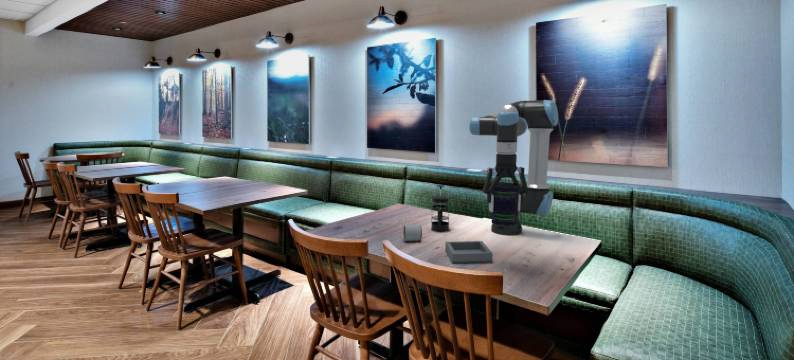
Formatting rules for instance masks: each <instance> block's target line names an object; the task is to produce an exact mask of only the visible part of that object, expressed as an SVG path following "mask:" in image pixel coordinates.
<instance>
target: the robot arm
mask: <svg viewBox="0 0 794 360" xmlns="http://www.w3.org/2000/svg"><path fill="white" fill-rule="evenodd" d="M558 111H559V110H558V107H557V104H556V102H555V101H554V100H549V99H547V100H546V99H544V100H543V99H542V100H541V99H540V100H538V99H537V100H535V99H534V100H519V101H515V102H511V103H509V104H506V105H504V106H502V107H501V108H500V109H499V110H496V111H495V112H492V113H489V114H487V115H484V116H474V117H472V118H471V119H470V121H469V132H470V133H471V135H473V136H479V137H481V136H494V137H495V136H496V151H495V152H496V155H495V166H494V167H487V174H486V178H485V181H484V185H483V187H482V193H484V194H485V195H486V202H487V204H488V209H489V210H488V211H489V212H491V213H492V212H493V201H494V195H492V193H493V191H494V189H495V188H494V186H497V184H498V183H500V181H501V180H502V179H507V178H508V179H511V181H512V183H514V185H519V187H518V192H519V194H518V200H517V210H518V212H517V214H518V217H517V224H516V225H514V226H500V225H495V224H493V223H492V222H491V226H490V227H491V229H490V230H491V232H492V233H495V234H498V235H504V236H514V235H515V236H516V235H520V234H522V233H523V226H522V223H521V220H520V214H522V213H523V214H530V215H536V216H538V215H539V216H546V215H548V214H549V212H550V210H551V207H552V204H553V201H554V200H553V198H554V192H553V191H551V189H550V186H549V185H548V184H547V182H548V165H549V149H550V134H551V132H553V131H554V127H555V126H557V125H558V123H559V112H558ZM527 130H528V131H529V132H530V133H529V134H530V135H529V136H530V138H529V139H530V140H529V152H528V153H529V154H528V158H529V159H528V169H527V170H528V173H527V180H526V176H525V171H526V170H525V167H524V166H517V162H518V161H517V159H518V158H517V157H518V155H517V154H516V153H517V152H518V151H517V149H518V137H520V136H522V135H523V134H525V133H526V132H527ZM495 172H496V175H495V177H494V179H493V174H494V173H495ZM516 172H517V173H518V176H519V179H520V183H519V181H518V179H517V176H516V175H515V173H516ZM492 179H493V180H492ZM491 181H492V183H491Z"/></svg>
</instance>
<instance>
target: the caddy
mask: <svg viewBox="0 0 794 360" xmlns="http://www.w3.org/2000/svg"><path fill="white" fill-rule="evenodd" d="M444 250H445V252H446V255H447V256H448V258H449V260H450V261H451V264H485V263H487V264H488V263H489V264H490V263H493V251H491V250H490V248H489V247H488V246H487V245H486V244H485V243H484V241H483V240H464V241H463V240H462V241H460V240H459V241H445V249H444Z"/></svg>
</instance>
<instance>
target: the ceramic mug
mask: <svg viewBox="0 0 794 360" xmlns="http://www.w3.org/2000/svg"><path fill="white" fill-rule="evenodd" d="M402 230H403V231H402V232H403V241H404V242H418V241H422V240H423V239H422V238H423V229H422V226H421V225H418V224H417V225H416V224H414V225H413V224H404V225H403V229H402Z"/></svg>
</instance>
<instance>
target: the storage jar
mask: <svg viewBox="0 0 794 360" xmlns="http://www.w3.org/2000/svg"><path fill="white" fill-rule="evenodd" d="M519 185H520V184H519ZM519 185H514V183H513V182H498V184H497V186H494V188H495V189H494V191H493V193H492V195H494V201H493V212H491V224H492V223H493V224H495V225H500V226H514V225H516V224H517V217H518V214H517V212H518V210H517V200H518V194H519V192H518V187H519Z"/></svg>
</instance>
